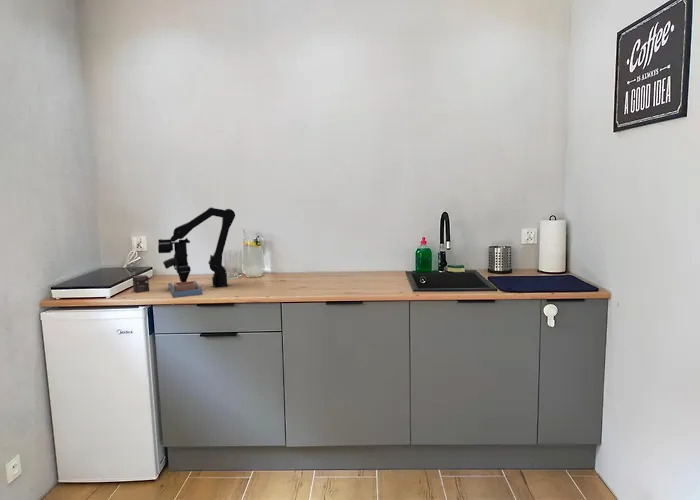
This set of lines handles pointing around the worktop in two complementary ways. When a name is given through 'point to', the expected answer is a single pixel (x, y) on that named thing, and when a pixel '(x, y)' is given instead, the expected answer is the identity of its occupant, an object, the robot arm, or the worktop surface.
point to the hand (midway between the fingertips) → (182, 283)
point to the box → (140, 283)
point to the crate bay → (185, 291)
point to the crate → (185, 286)
